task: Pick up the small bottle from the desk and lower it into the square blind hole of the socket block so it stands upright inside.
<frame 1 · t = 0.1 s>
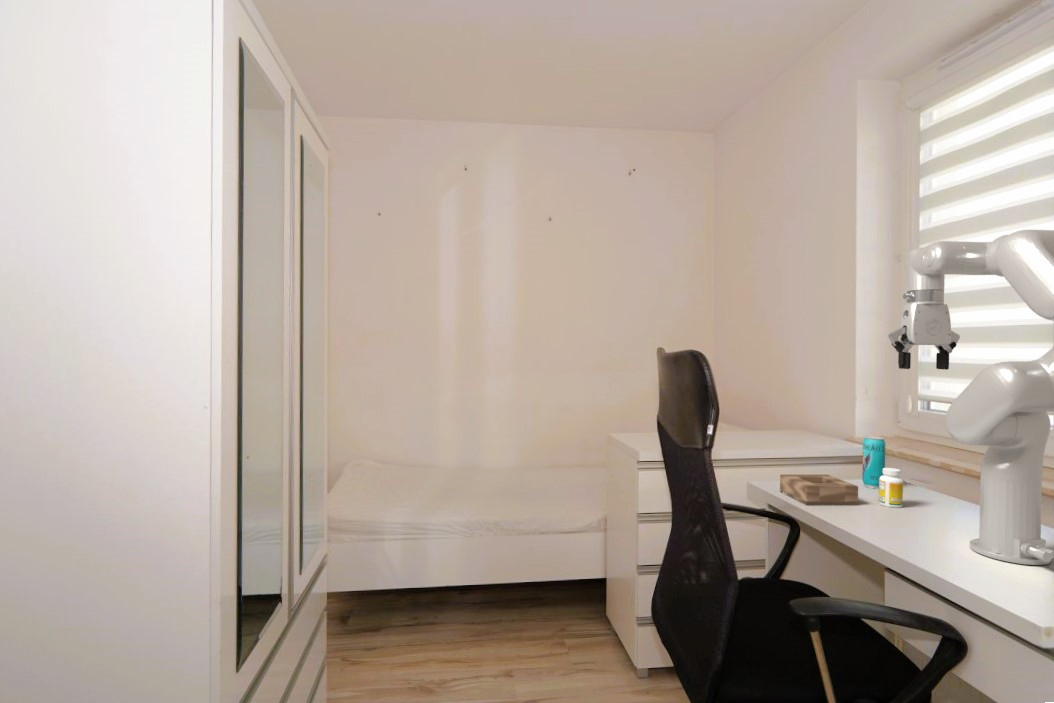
hand: (923, 368, 140), 37 cm above the table, tool pointing down, fingers open, 9 cm apart
supplement bottle: (890, 506, 152), on the table
socket block: (817, 498, 158), on the table
beverage can: (873, 487, 172), on the table
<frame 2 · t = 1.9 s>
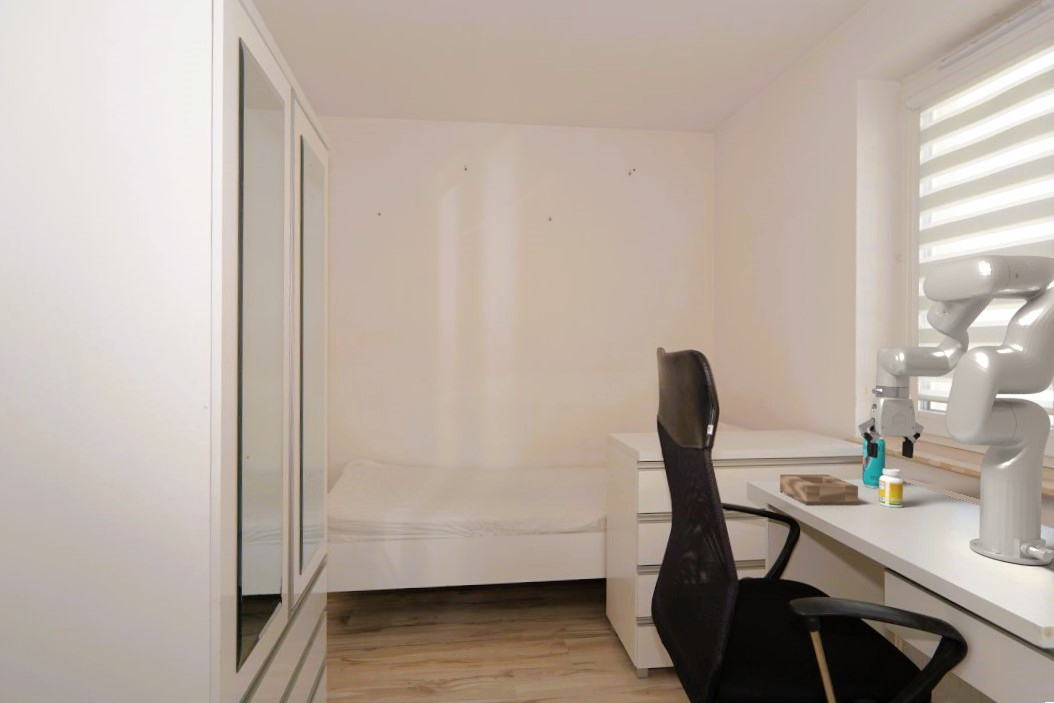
hand: (889, 457, 152), 13 cm above the table, tool pointing down, fingers open, 9 cm apart
nothing on the table moved.
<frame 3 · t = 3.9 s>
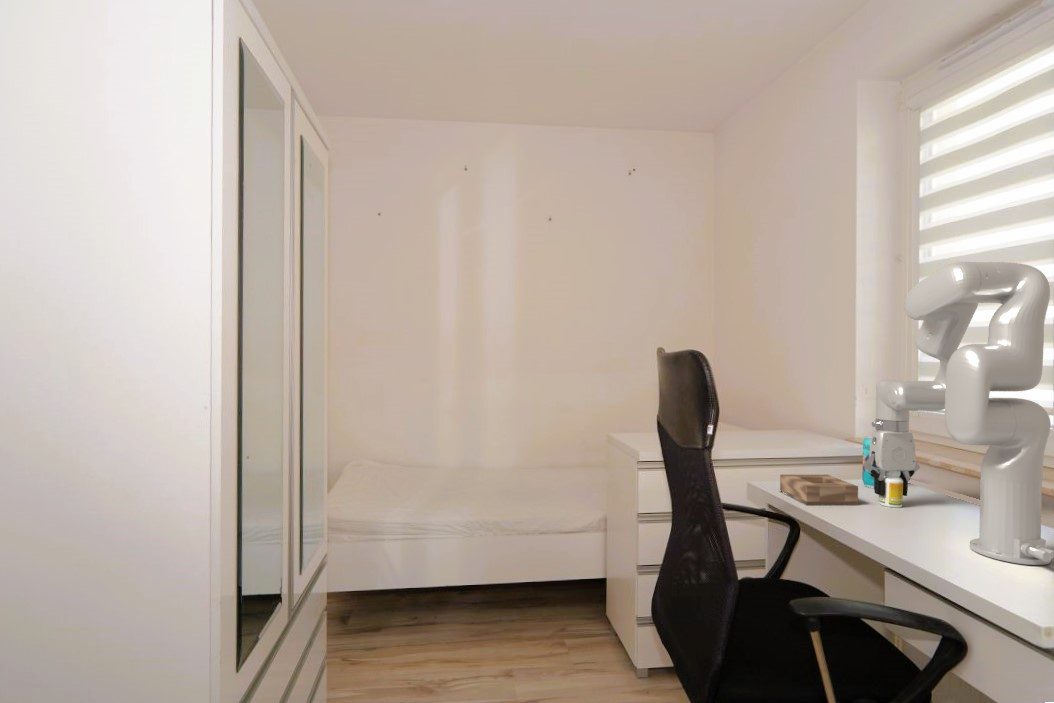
hand: (890, 493, 152), 3 cm above the table, tool pointing down, fingers closed on supplement bottle, 5 cm apart
supplement bottle: (890, 506, 152), on the table, touching gripper
everything else where it was.
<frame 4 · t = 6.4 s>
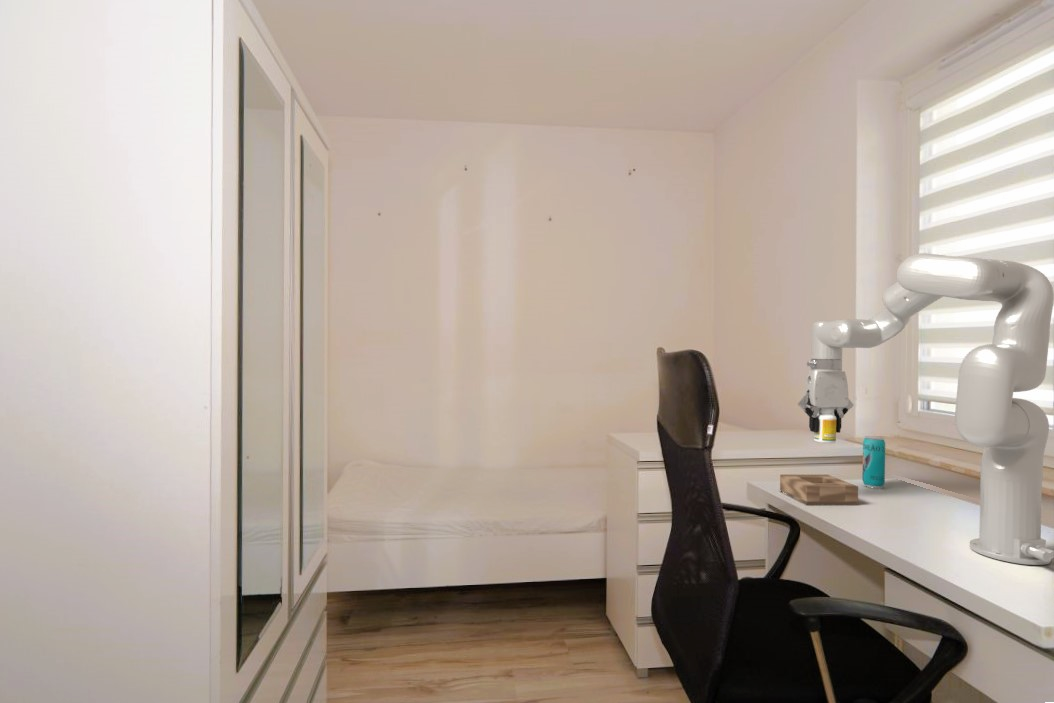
hand: (825, 431, 157), 19 cm above the table, tool pointing down, fingers closed on supplement bottle, 5 cm apart
supplement bottle: (824, 442, 157), point 15 cm above the table, touching gripper
everything else where it was.
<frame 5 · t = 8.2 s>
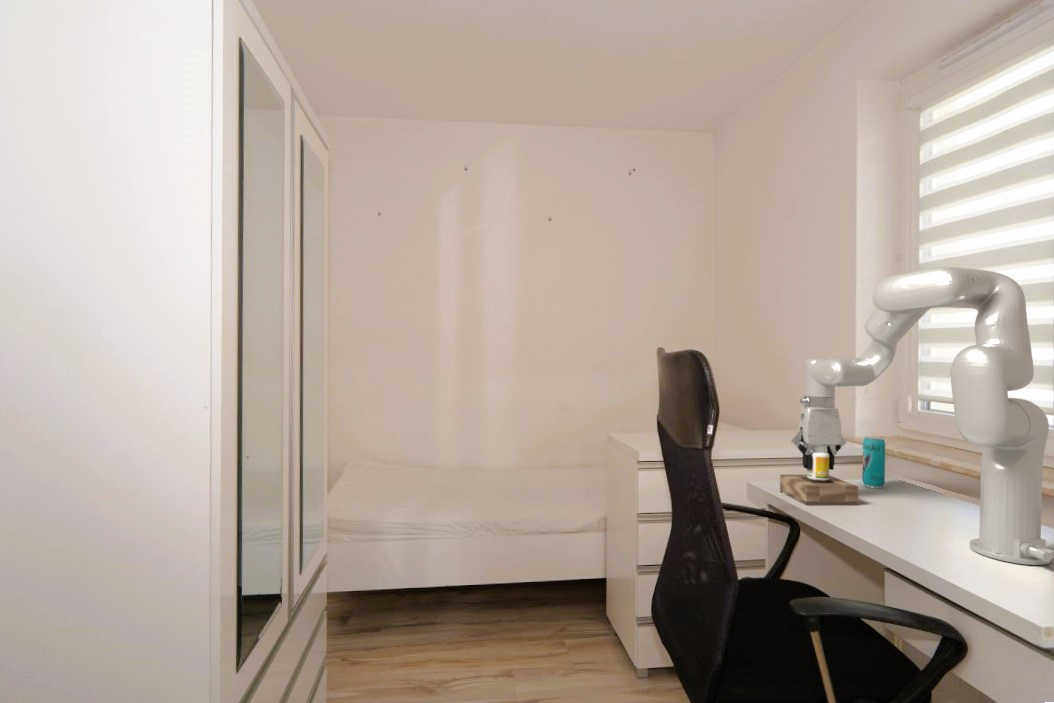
hand: (818, 468, 158), 8 cm above the table, tool pointing down, fingers closed on supplement bottle, 5 cm apart
supplement bottle: (817, 479, 158), point 5 cm above the table, touching gripper
everything else where it was.
when the fingers open (5 cm above the table, at t = 9.3 s): supplement bottle drops 1 cm, resting on socket block.
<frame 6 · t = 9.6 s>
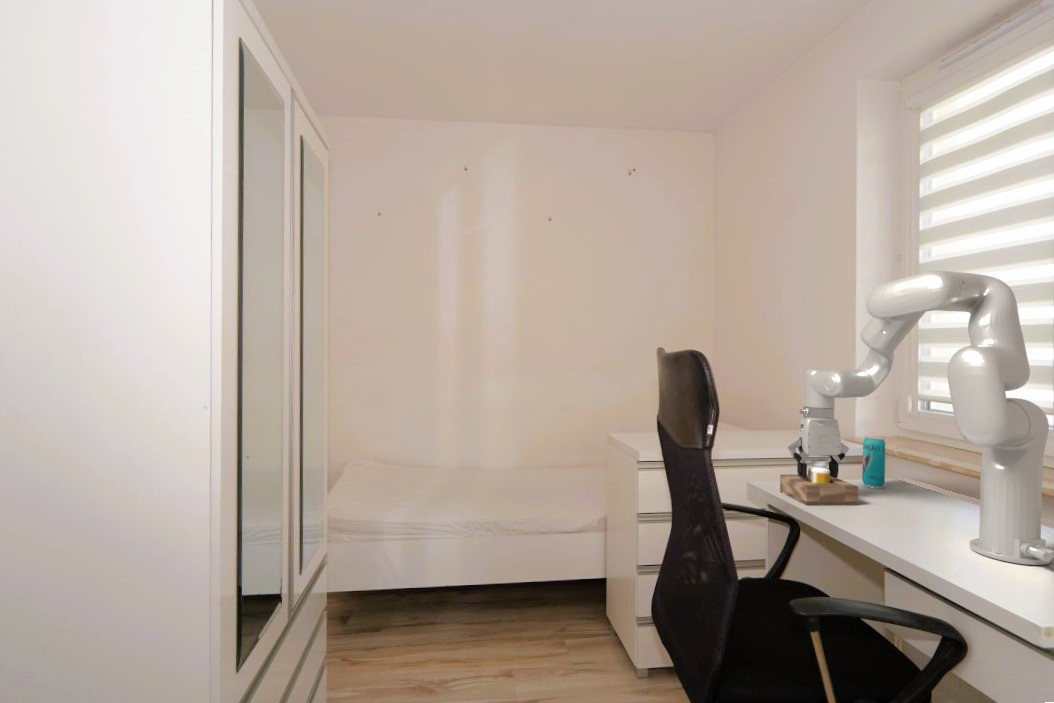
hand: (817, 476, 158), 6 cm above the table, tool pointing down, fingers open, 8 cm apart
supplement bottle: (818, 495, 158), point 1 cm above the table, touching socket block
everything else where it was.
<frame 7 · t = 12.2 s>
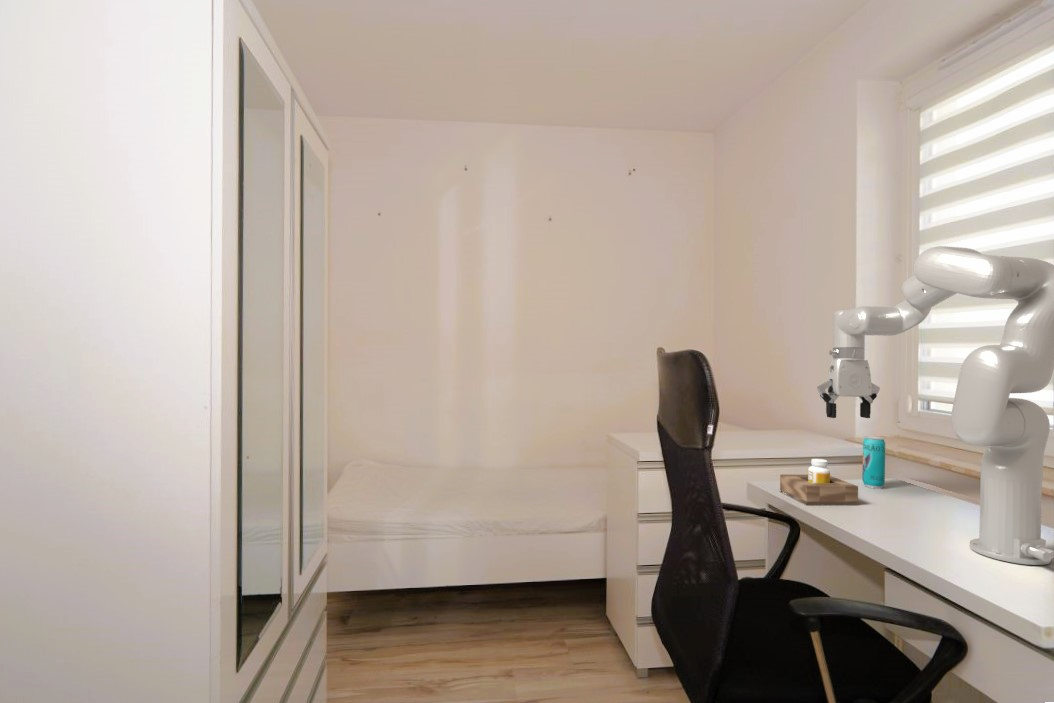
hand: (848, 417, 156), 23 cm above the table, tool pointing down, fingers open, 9 cm apart
nothing on the table moved.
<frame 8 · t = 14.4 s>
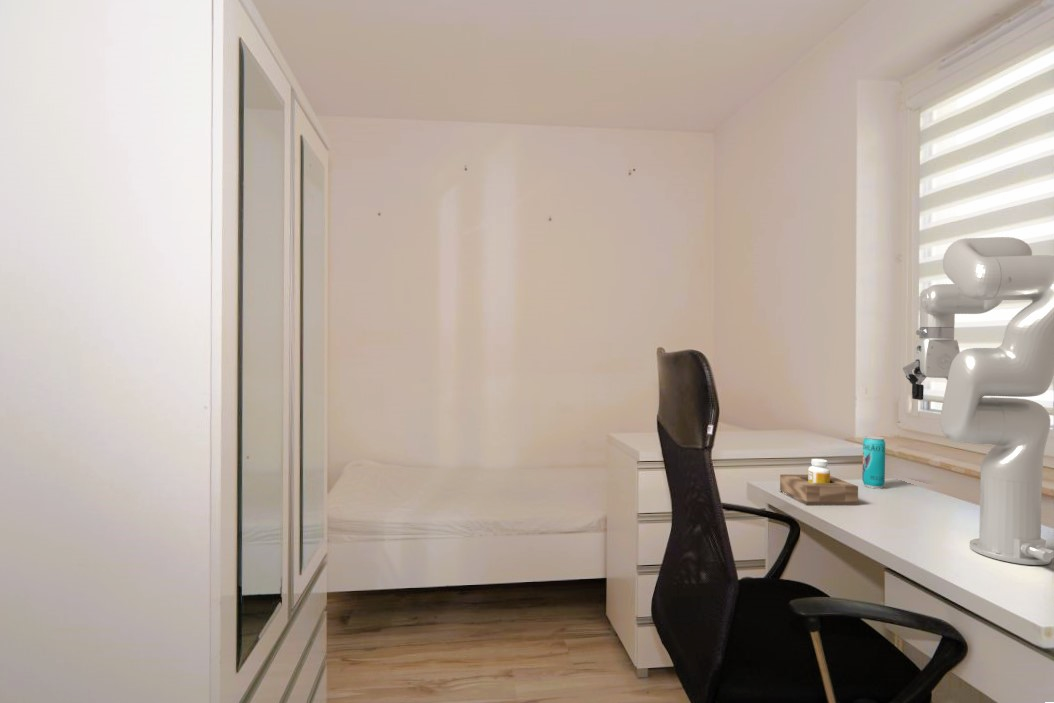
hand: (935, 399, 151), 28 cm above the table, tool pointing down, fingers open, 9 cm apart
nothing on the table moved.
at the end: supplement bottle 0.3 cm off-centre on the socket block, point 0.8 cm above the socket block's base; supplement bottle tilted 0°; the gripper is holding nothing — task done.
